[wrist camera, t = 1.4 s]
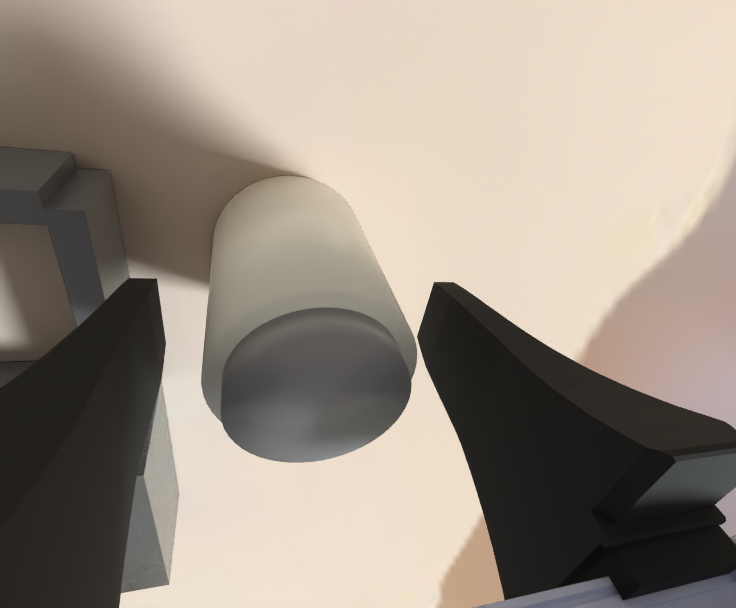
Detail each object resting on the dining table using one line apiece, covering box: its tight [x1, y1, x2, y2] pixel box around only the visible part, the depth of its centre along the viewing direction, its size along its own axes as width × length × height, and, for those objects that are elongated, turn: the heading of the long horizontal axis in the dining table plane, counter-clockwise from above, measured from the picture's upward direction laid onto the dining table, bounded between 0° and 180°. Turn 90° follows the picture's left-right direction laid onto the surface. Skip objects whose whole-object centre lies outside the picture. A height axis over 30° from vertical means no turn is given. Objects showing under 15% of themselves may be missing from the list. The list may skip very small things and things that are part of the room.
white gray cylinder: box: [201, 176, 417, 462], centre depth 12 cm, size 5×5×7 cm
